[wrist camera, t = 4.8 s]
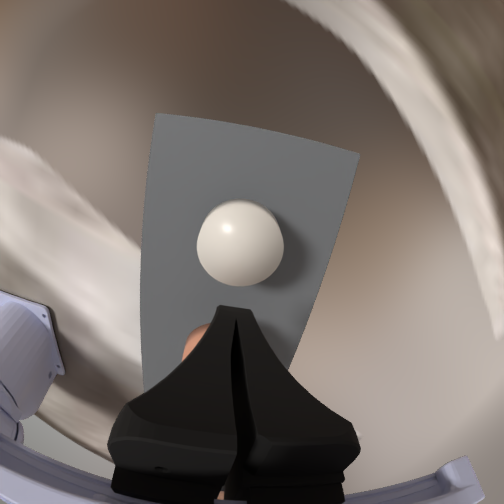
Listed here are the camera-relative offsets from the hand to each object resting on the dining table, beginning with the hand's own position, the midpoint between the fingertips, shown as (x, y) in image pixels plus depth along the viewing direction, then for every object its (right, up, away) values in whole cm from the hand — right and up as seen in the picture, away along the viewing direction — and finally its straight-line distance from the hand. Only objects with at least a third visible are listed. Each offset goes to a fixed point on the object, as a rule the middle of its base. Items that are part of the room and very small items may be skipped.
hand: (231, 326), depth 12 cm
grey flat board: (-1, -1, +11) cm, 11 cm away
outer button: (0, +4, +6) cm, 7 cm away
